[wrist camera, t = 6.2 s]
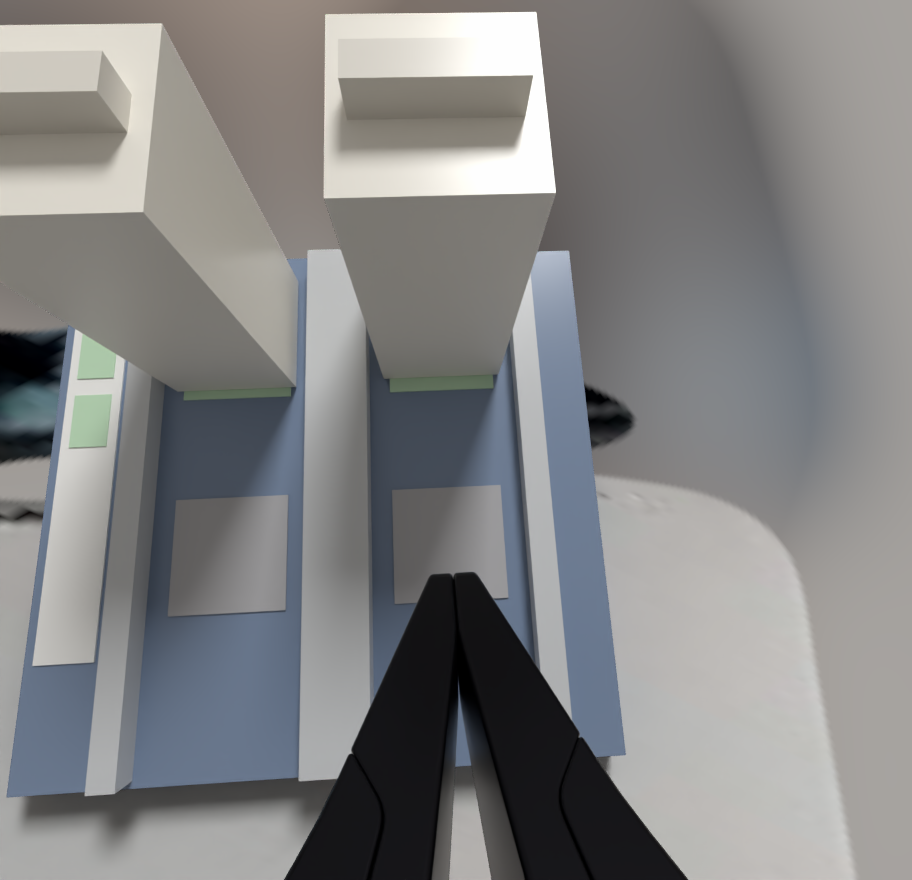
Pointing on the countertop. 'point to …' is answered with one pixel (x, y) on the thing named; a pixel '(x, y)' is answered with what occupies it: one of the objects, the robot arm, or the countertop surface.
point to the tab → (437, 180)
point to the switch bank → (301, 548)
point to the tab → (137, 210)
